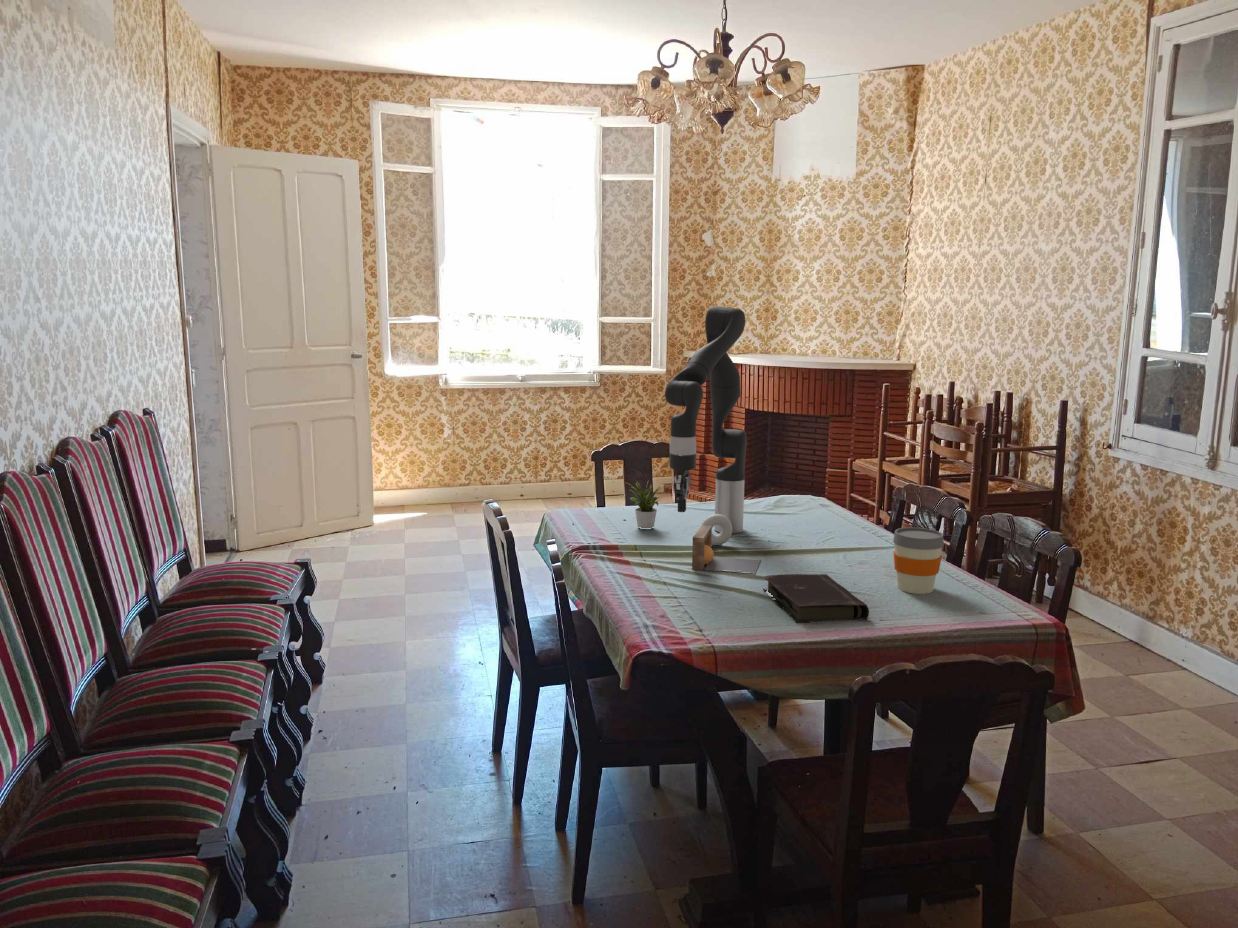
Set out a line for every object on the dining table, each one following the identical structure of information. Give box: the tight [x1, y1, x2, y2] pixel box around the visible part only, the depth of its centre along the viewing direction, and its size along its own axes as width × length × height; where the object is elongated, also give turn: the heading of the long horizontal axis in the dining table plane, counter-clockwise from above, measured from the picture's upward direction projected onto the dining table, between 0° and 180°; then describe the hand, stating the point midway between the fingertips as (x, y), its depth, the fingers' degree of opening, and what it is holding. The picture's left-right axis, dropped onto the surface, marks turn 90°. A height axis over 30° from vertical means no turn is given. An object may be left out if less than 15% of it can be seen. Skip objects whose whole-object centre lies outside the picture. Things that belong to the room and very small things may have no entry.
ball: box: [704, 545, 715, 565], centre depth 265 cm, size 6×6×6 cm
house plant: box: [626, 479, 666, 528], centre depth 305 cm, size 14×14×16 cm
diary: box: [763, 573, 870, 624], centre depth 231 cm, size 19×25×5 cm
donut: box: [700, 513, 733, 546], centre depth 285 cm, size 10×4×10 cm, turn 99°
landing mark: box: [704, 555, 762, 574], centre depth 264 cm, size 14×14×1 cm
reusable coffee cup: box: [892, 527, 945, 595], centre depth 243 cm, size 13×13×15 cm
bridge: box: [691, 526, 713, 571], centre depth 266 cm, size 3×14×9 cm, turn 165°
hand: (681, 511), depth 266 cm, fingers closed
